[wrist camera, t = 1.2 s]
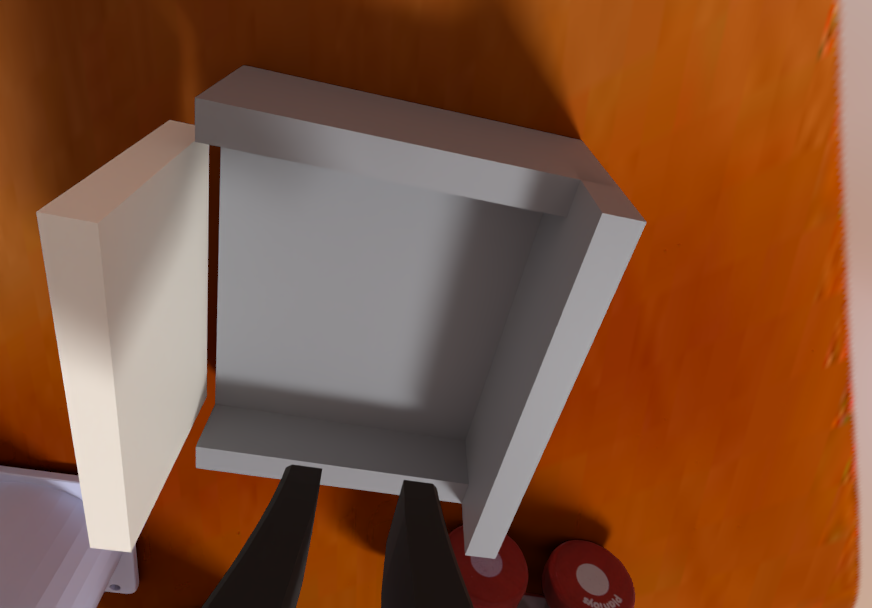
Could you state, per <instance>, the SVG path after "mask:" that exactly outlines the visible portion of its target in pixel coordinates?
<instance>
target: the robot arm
mask: <svg viewBox="0 0 872 608" xmlns="http://www.w3.org/2000/svg"><path fill="white" fill-rule="evenodd" d="M321 474H322V468H315V467H307V466H300V465H293V464H292V465H290V466H288V467H286V468H285V471H284V473H283V476H282V478H281V481H280V483H279V485H278V487H277V489H276V491H275V493H274V495H273V497H272V499H271V501H270V503H269V505H268V507H267V508H266V510H265V512H264V514H263V515H262V517H261V519H260V521H259V522H258V524H257V526H256V528H255V529H254V531H253V532H252V534H251V535H250V537H249V539H248V540H247V542H246V543H245V545H244V547H243V548H242V550H241V551H240V553H239V555H238V556H237V558H236V559H235V561H234V562H233V564H232V565H231V567H230V568H229V570H228V571H227V572H226V574H225V575H224V577H223V578H222V579H221V581H220V582H219V584H218V585H217V586H216V588H215V589H214V591H213V592H212V593H211V595H210V596H209V598H208V599H207V601H206V602H205V603H204V605H203V606H202V607H201V608H296V605H297V601H298V597H299V594H300V590H301V587H302V582H303V577H304V572H305V566H306V561H307V556H308V551H309V545H310V540H311V535H312V529H313V523H314V517H315V511H316V505H317V499H318V493H319V487H320V481H321ZM138 586H139V574H138V564H137V553H136V543H135V545H134V547H133V550H132V552H123V551H114V550H105V549H96V548H90V544H89V537H88V531H87V525H86V519H85V513H84V506H83V500H82V494H81V488H80V481H79V476H78V475H70V474H62V473H55V472H47V471H39V470H31V469H24V468H16V467H8V466H0V608H97V606H98V604H99V602H100V600H101V598H102V596H103V594H104V592H114V593H124V594H131V593H134V592H135V591H136V590H137V588H138ZM381 608H474V606H473V604H472V601H471V598H470V596H469V593H468V590H467V588H466V585H465V582H464V579H463V577H462V574H461V571H460V568H459V566H458V563H457V560H456V557H455V554H454V551H453V548H452V544H451V541H450V538H449V535H448V531H447V528H446V524H445V521H444V517H443V513H442V509H441V505H440V501H439V496H438V491H437V488H436V487H435V485H434V484H431V483H424V482H417V481H409V480H404V481H403V484H402V488H401V491H400V495H399V499H398V502H397V506H396V509H395V513H394V517H393V520H392V524H391V528H390V531H389V535H388V538H387V542H386V552H385V562H384V572H383V582H382V593H381Z"/></svg>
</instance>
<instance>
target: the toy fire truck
mask: <svg viewBox="0 0 872 608" xmlns="http://www.w3.org/2000/svg"><path fill="white" fill-rule="evenodd" d="M449 538H450V541H451V544H452V548H453V551H454V554H455V557H456V560H457V563H458V566H459V568H460V571H461V574H462V577H463V579H464V582H465V585H466V588H467V590H468V593H469V596H470V598H471V601H472V604H473V606H474V608H634V603H635V592H634V587H633V583H632V579H631V578H630V575H629V574H628V572H627V570H626V569H625V567H624V566H623V564H622V563H621V562H620V561H619V560H618V559H617V558H616V557H615V556H614V555H613V554H612V553H610V552H609V551H608V550H606V549H605V548H603V547H601V546H599V545H597V544H595V543H592V542H589V541H585V540H571V541H567V542H564V543H562V544H560V545H559V546H558V547H557V548H555V549H554V551H553V552H552V553H551V555H550V557H549V559H548V561H547V563H546V565H545V567H544V569H543V573H542V578H541V585H542V591H543V594H544V595H541V594H533V593H526V588H527V584H528V579H529V578H528V567H527V563H526V560H525V557H524V555H523V553H522V551H521V549H520V548H519V546H518V545H517V543H516V542H515V541H514V540H513V539H512V538H510V537H509V536H508V535H507V534H506V536H505V538H504V541H503V543H502V545H501V547H500V549H499V552H498V554H497V556H496V558H495V559H492V558H483V557H475V556H467V555H465V546H464V531H463V525H462V526H459V527H457V528H456V529H454V530H453V531H452V532H451V533H450V534H449Z"/></svg>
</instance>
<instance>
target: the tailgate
mask: <svg viewBox="0 0 872 608" xmlns="http://www.w3.org/2000/svg"><path fill="white" fill-rule="evenodd" d="M208 208H209V145H208V144H203V143H199V142H195V125H192V124H187V123H182V122H177V121H173V120H169V121H167V122H166V123H164V124H163V125H161V126H160V127H159V128H157V129H156V130H154V131H153V132H151V133H150V134H148V135H147V136H146V137H144V138H143V139H141V140H140V141H138V142H137V143H135V144H134V145H132V146H131V147H130V148H128V149H127V150H125V151H124V152H122V153H121V154H119V155H118V156H116V157H115V158H114V159H112V160H111V161H109V162H108V163H106V164H105V165H103V166H102V167H101V168H99V169H98V170H96V171H95V172H93V173H92V174H90V175H89V176H87V177H86V178H85V179H83V180H82V181H80V182H79V183H77V184H76V185H74V186H73V187H72V188H70V189H69V190H67V191H66V192H64V193H63V194H61V195H60V196H58V197H57V198H56V199H54V200H53V201H51V202H50V203H48V204H47V205H45V206H44V207H43V208H41V209H40V210H38V211H37V212H36V214H37V220H38V226H39V233H40V239H41V245H42V251H43V258H44V264H45V270H46V276H47V282H48V289H49V295H50V301H51V307H52V313H53V320H54V326H55V332H56V338H57V345H58V351H59V357H60V363H61V369H62V376H63V382H64V388H65V394H66V401H67V407H68V413H69V419H70V425H71V432H72V438H73V444H74V450H75V457H76V463H77V469H78V475H79V481H80V488H81V494H82V500H83V506H84V513H85V519H86V525H87V531H88V537H89V544H90V548H96V549H105V550H114V551H123V552H132V550H133V547H134V545H135V543H136V541H137V539H138V537H139V535H140V533H141V531H142V529H143V527H144V525H145V523H146V521H147V519H148V516H149V514H150V512H151V510H152V508H153V506H154V504H155V502H156V500H157V498H158V496H159V494H160V492H161V490H162V488H163V485H164V483H165V481H166V479H167V477H168V475H169V473H170V471H171V469H172V467H173V465H174V463H175V461H176V459H177V457H178V454H179V452H180V450H181V448H182V446H183V444H184V442H185V440H186V438H187V436H188V434H189V432H190V430H191V428H192V425H193V423H194V421H195V419H196V417H197V415H198V413H199V411H200V409H201V407H202V405H203V403H204V401H205V399H206V397H207V307H208Z"/></svg>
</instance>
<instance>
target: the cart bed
mask: <svg viewBox="0 0 872 608" xmlns="http://www.w3.org/2000/svg"><path fill="white" fill-rule="evenodd" d="M195 142H199V143H203V144H208V145H213V146H218V147H221V158H220V206H219V254H218V302H217V349H216V397H215V406H214V408H213V410H212V413H211V415H210V417H209V419H208V421H207V423H206V426H205V428H204V430H203V432H202V434H201V437H200V439H199V441H198V443H197V445H196V468H200V469H208V470H215V471H223V472H230V473H238V474H245V475H253V476H260V477H268V478H275V479H281V478H282V476H283V473H284V471H285V468H286V467H288V466H290V465H292V464H293V465H300V466H307V467H315V468H322V474H321V481H320V485H328V486H335V487H343V488H350V489H358V490H365V491H373V492H380V493H388V494H395V495H400V491H401V488H402V484H403V481H404V480H409V481H417V482H424V483H431V484H434V485H435V487H436V488H437V491H438V496H439V500H440V501H447V502H455V503H462V515H463V531H464V546H465V555H467V556H475V557H483V558H492V559H495V558H496V556H497V554H498V552H499V549H500V547H501V545H502V543H503V541H504V538H505V536H506V534H507V532H508V529H509V527H510V525H511V523H512V521H513V518H514V516H515V514H516V512H517V509H518V507H519V505H520V503H521V500H522V498H523V496H524V494H525V492H526V489H527V487H528V485H529V483H530V480H531V478H532V476H533V474H534V472H535V469H536V467H537V465H538V463H539V460H540V458H541V456H542V454H543V452H544V449H545V447H546V445H547V443H548V440H549V438H550V436H551V434H552V431H553V429H554V427H555V425H556V423H557V420H558V418H559V416H560V414H561V411H562V409H563V407H564V405H565V403H566V400H567V398H568V396H569V394H570V391H571V389H572V387H573V385H574V383H575V380H576V378H577V376H578V374H579V371H580V369H581V367H582V365H583V362H584V360H585V358H586V356H587V354H588V351H589V349H590V347H591V345H592V342H593V340H594V338H595V336H596V334H597V331H598V329H599V327H600V325H601V322H602V320H603V318H604V316H605V313H606V311H607V309H608V307H609V305H610V302H611V300H612V298H613V296H614V293H615V291H616V289H617V287H618V285H619V282H620V280H621V278H622V276H623V273H624V271H625V269H626V267H627V265H628V262H629V260H630V258H631V256H632V253H633V251H634V249H635V247H636V244H637V242H638V240H639V238H640V236H641V233H642V231H643V229H644V227H645V224H646V221H645V220H644V218H643V217H642V216H641V215H640V213H639V212H638V211H637V209H636V208H635V207H634V206H633V204H632V203H631V202H630V201H629V199H628V198H627V197H626V196H625V194H624V193H623V192H622V191H621V189H620V188H619V187H618V185H617V184H616V183H615V182H614V180H613V179H612V178H611V177H610V175H609V174H608V173H607V172H606V170H605V169H604V168H603V167H602V165H601V164H600V163H599V161H598V160H597V159H596V158H595V156H594V155H593V154H592V153H591V151H590V150H589V149H588V148H587V146H586V145H585V144H584V143H583V141H582V140H579V139H574V138H570V137H565V136H561V135H556V134H552V133H547V132H543V131H538V130H534V129H529V128H525V127H520V126H516V125H511V124H507V123H502V122H498V121H493V120H489V119H484V118H480V117H475V116H471V115H466V114H462V113H457V112H453V111H448V110H444V109H439V108H435V107H430V106H426V105H421V104H417V103H412V102H408V101H403V100H399V99H394V98H390V97H386V96H381V95H377V94H372V93H368V92H363V91H359V90H354V89H350V88H345V87H341V86H336V85H332V84H327V83H323V82H318V81H314V80H309V79H305V78H300V77H296V76H291V75H287V74H282V73H278V72H273V71H269V70H264V69H260V68H255V67H251V66H246V65H243V66H241V67H240V68H238V69H237V70H235V71H234V72H232V73H231V74H229V75H228V76H226V77H225V78H223V79H222V80H220V81H219V82H217V83H216V84H214V85H213V86H211V87H210V88H208V89H207V90H205V91H204V92H202V93H201V94H199V95H198V96H196V97H195Z"/></svg>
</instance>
